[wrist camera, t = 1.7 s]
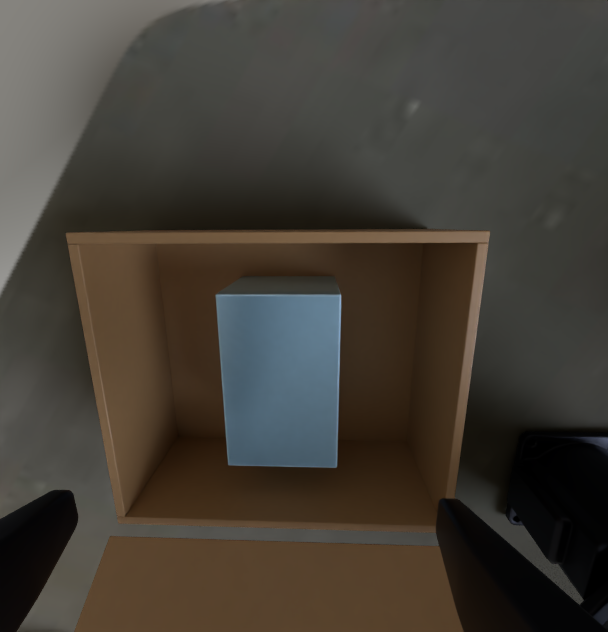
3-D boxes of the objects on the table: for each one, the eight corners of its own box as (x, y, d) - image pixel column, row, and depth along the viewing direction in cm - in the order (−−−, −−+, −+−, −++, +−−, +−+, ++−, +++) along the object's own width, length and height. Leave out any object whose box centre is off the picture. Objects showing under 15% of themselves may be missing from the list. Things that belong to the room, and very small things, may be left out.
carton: (429, 229, 18) (490, 230, 11) (410, 442, 21) (450, 533, 15) (150, 230, 18) (64, 232, 12) (175, 438, 21) (118, 523, 15)
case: (335, 275, 18) (341, 294, 13) (332, 410, 20) (337, 468, 15) (241, 275, 18) (214, 294, 13) (248, 408, 20) (227, 466, 15)
